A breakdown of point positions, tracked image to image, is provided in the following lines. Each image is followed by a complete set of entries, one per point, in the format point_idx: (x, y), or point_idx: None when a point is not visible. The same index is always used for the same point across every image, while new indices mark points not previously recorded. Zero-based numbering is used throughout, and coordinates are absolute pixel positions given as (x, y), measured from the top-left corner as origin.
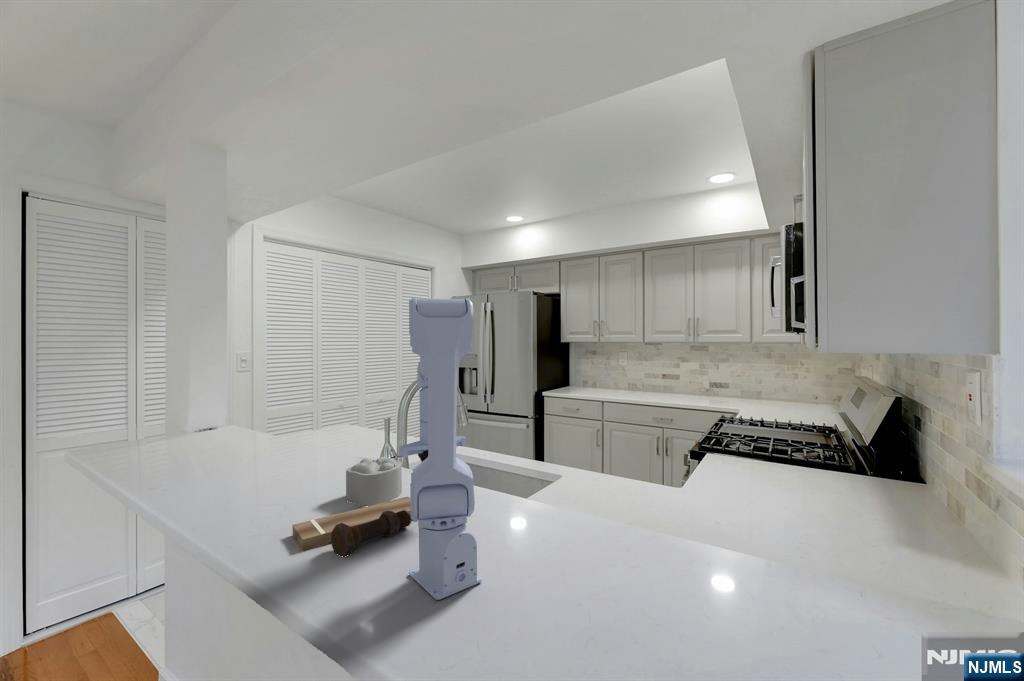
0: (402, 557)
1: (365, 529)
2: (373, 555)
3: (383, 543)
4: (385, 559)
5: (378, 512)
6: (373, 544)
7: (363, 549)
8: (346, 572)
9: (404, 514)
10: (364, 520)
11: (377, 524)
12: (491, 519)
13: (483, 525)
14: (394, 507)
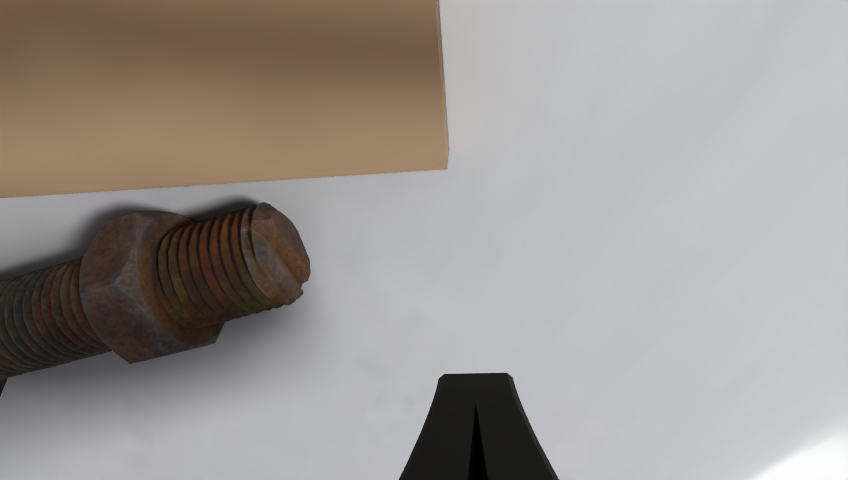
0: (221, 458)
1: (10, 372)
2: (114, 394)
3: None
4: (159, 439)
5: (97, 67)
6: None
7: None
8: (25, 440)
9: (244, 308)
10: (5, 158)
11: (72, 350)
12: (735, 398)
13: (648, 425)
14: (229, 33)
